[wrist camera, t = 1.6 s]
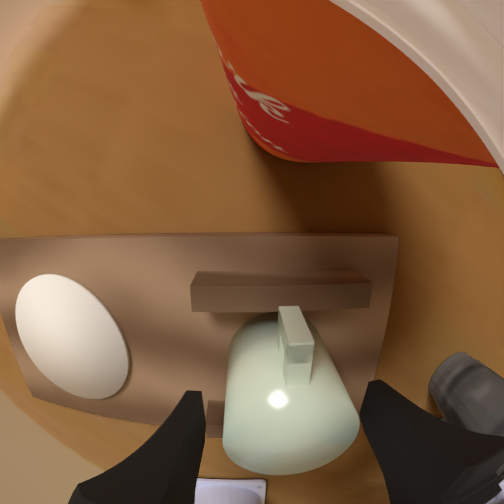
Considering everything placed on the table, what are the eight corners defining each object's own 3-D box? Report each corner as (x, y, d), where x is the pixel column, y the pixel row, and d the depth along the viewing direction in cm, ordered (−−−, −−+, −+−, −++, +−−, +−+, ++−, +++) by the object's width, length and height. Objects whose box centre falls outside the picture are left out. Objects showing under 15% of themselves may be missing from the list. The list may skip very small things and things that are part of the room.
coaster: (142, 404, 16) (140, 408, 16) (40, 382, 16) (38, 385, 15) (115, 275, 14) (112, 277, 14) (6, 271, 14) (3, 272, 13)
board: (357, 409, 18) (371, 439, 15) (38, 390, 17) (20, 411, 14) (390, 233, 15) (421, 246, 12) (-5, 239, 14) (-34, 249, 11)
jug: (316, 385, 16) (344, 467, 10) (230, 388, 16) (226, 476, 9) (329, 279, 14) (384, 343, 8) (226, 280, 14) (214, 353, 8)
